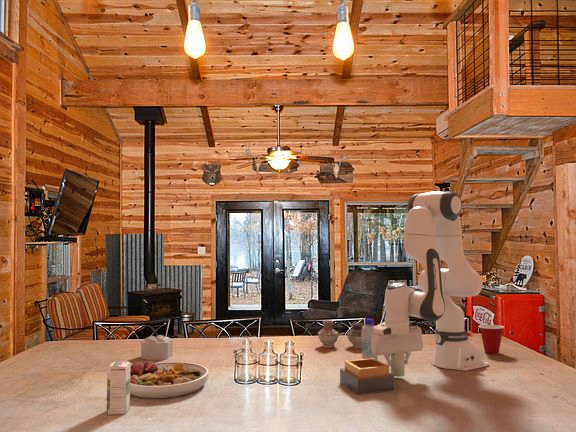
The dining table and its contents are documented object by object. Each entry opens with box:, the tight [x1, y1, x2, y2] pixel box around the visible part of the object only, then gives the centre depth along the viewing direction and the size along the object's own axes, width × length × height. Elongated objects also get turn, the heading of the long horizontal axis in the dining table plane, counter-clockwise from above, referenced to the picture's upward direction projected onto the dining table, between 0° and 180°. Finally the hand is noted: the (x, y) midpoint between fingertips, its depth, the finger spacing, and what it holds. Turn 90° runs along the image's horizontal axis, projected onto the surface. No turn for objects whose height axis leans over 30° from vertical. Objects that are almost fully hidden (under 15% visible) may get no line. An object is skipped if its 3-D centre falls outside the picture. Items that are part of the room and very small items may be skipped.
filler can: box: [390, 351, 406, 378], centre depth 188 cm, size 5×5×11 cm
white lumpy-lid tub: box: [140, 334, 174, 361], centre depth 221 cm, size 10×13×9 cm
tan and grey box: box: [339, 358, 395, 395], centre depth 179 cm, size 14×14×8 cm
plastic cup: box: [478, 324, 505, 355], centre depth 226 cm, size 11×11×12 cm
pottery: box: [317, 320, 365, 349], centre depth 238 cm, size 11×25×12 cm, turn 86°
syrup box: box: [106, 361, 132, 416], centre depth 156 cm, size 6×6×14 cm
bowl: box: [130, 360, 209, 399], centre depth 180 cm, size 30×30×8 cm
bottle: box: [361, 318, 379, 361], centre depth 200 cm, size 7×7×20 cm
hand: (397, 364), depth 188 cm, fingers closed on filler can, 5 cm apart
